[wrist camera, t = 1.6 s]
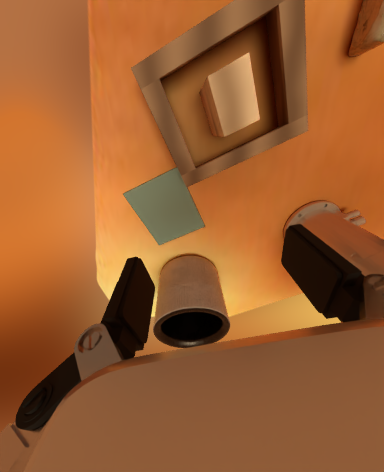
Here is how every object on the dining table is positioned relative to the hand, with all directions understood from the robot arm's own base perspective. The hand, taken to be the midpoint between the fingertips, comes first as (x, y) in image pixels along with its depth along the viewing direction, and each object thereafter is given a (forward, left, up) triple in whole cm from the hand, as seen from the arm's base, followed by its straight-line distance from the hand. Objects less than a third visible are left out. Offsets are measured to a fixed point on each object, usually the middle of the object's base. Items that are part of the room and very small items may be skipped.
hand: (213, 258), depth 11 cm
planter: (+12, +25, -25) cm, 37 cm away
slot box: (-8, -7, -24) cm, 27 cm away
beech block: (-8, -7, -25) cm, 27 cm away
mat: (+8, +5, -24) cm, 26 cm away
